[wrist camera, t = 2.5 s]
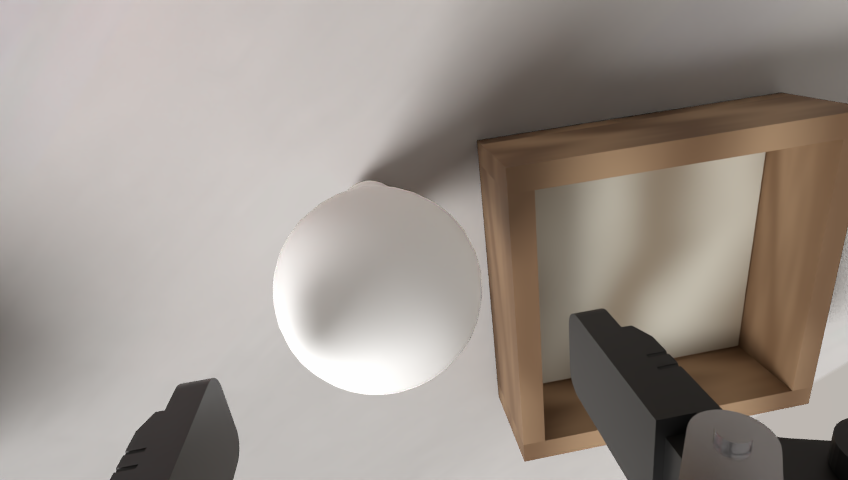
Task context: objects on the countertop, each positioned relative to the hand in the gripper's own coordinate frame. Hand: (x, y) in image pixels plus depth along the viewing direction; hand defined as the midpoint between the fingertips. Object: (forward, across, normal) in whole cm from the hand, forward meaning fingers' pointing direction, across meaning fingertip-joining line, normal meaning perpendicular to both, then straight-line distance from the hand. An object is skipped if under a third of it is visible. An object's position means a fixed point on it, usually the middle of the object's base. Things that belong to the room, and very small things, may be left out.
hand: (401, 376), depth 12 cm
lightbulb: (+12, 0, 0) cm, 12 cm away
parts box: (+12, -12, +5) cm, 18 cm away
